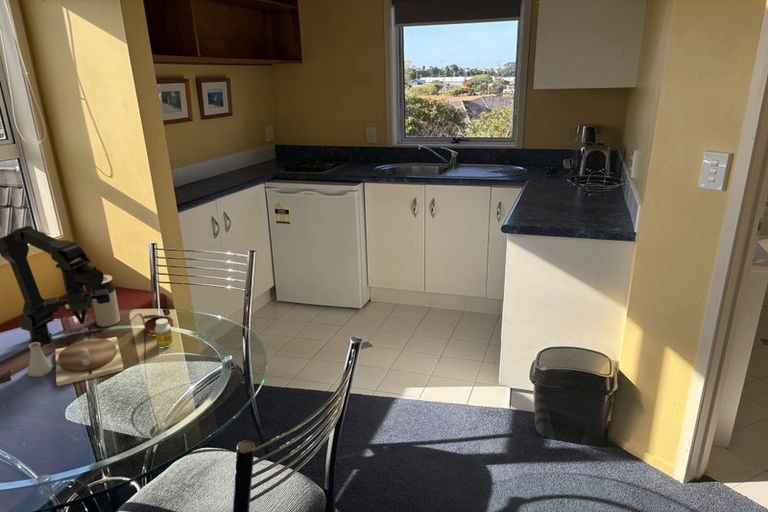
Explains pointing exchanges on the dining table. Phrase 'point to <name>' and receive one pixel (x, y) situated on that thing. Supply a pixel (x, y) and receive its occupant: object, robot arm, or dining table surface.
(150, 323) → the dark red handled pot
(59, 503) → the dining table surface
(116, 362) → the stand
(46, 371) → the flask
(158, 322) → the supplement bottle
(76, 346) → the knobbed disc on base
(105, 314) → the travel mug
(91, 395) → the dining table surface
